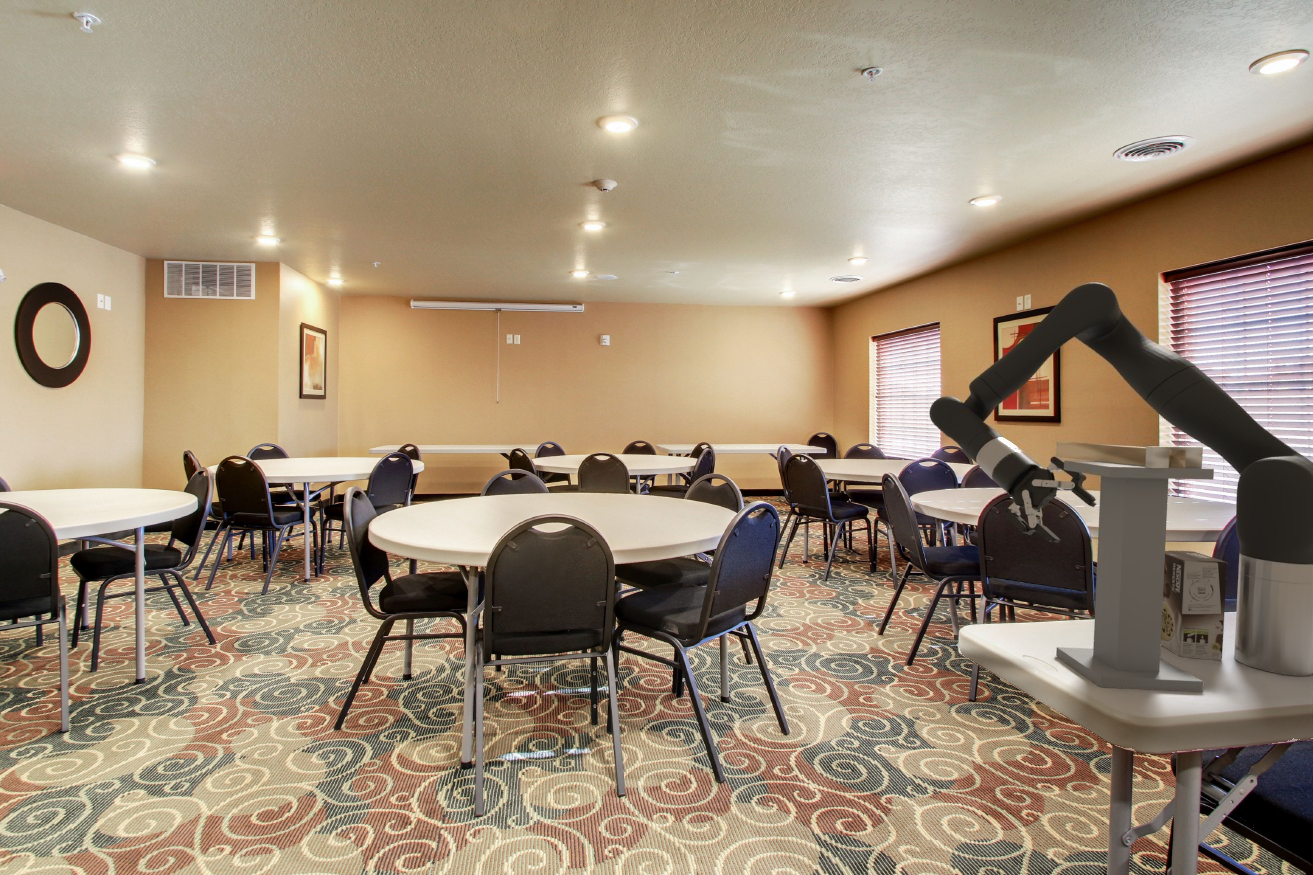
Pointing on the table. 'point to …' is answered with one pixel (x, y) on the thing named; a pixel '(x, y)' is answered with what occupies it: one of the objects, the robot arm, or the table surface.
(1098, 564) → the stand
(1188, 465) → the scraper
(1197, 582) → the coffee box
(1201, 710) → the table surface
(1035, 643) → the table surface
